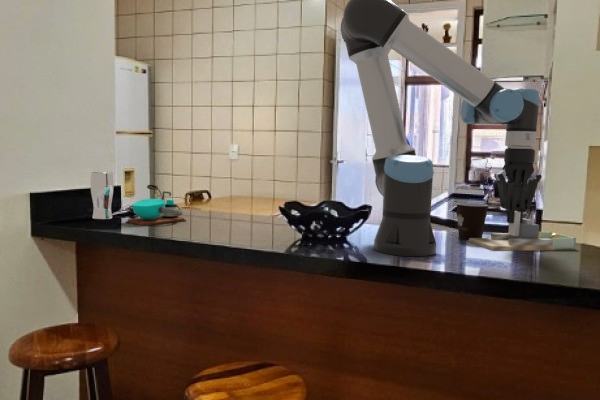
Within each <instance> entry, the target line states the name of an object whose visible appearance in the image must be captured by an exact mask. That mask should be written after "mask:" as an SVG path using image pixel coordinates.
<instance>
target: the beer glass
mask: <svg viewBox="0 0 600 400" xmlns="http://www.w3.org/2000/svg"><path fill="white" fill-rule="evenodd" d="M114 188H115V187H114V172H112V171H94V172H93V171H91V172H90V195H91V199H92V204H93V205H92V206H93V211H92V212H93V213H92V219H94V220H110V219H112V218H113V213H112V202H113V195H114Z"/></svg>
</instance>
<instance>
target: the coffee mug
mask: <svg viewBox="0 0 600 400" xmlns="http://www.w3.org/2000/svg"><path fill="white" fill-rule="evenodd" d="M488 208H489V205H488V204H485V203H474V202H457V203H456V217H457V230H458V231H457V233H458V239H460V240H462V241H463V240H464V241H469V238H483V234H484V231H485V230H484V228H485V225H486V218H487V215H488V214H487V213H488Z"/></svg>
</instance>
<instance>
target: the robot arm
mask: <svg viewBox="0 0 600 400" xmlns="http://www.w3.org/2000/svg"><path fill="white" fill-rule="evenodd" d="M341 18H342V19H341V21H340V22H341V23H340V34H341V36H342V37H341V38H342V39H343V42H344V43H345V46H346V51H347V55H348V59H349V60H350V61H351V62H352V63H354V64H356V70H357V74H358V79H359V83H360V86H361V91H362V92H361V93H362V96H363V100H364V105H365V108H366V114H367V117H368V121H369V126H370V130H371V134H372V138H373V139H372V140H373V143H374V148H375V152H374V154H373V156H372V157H371V159H372V165H373V169H374V173H375V180H374V181H375V182H374V183H375V186H376V189H377V191H378V192H379V193H380V195H381V196H382V197H383V198H382V199H383V200H382V219H381V221H380V223H379V227H378V229H377V232H376V235H375V237H374V239H373V240H374V241H373V242H374V244H373V249H374V250H375V251H377V252H379V253H383V254H385V255H386V254H387V255H392V256H400V257H426V256H432V255H435V254H436V253H437V242H436V241H437V240H436V239H435V234H434V230H433V227H432V223H431V222H432V221H431V213H432V211H431V210H432V197H433V195H432V194H433V177H434V173H435V171H434V163H433V161H432V160H431V159H430V158H428V157H425V156H420V155H417V153H416V150H415V147H413V146H412V145H410V144H409V143H408V139H407V135H406V131H405V125H404V123H403V119H402V113H401V112H402V111H401V110H400V109H401V108H400V103H399V100H398V96H397V91H396V86H395V81H394V77H393V72H392V68H391V64H390V58H389V54H390V52H391V50H393V51H394V52H396V53H397V54H398V55H400V56H402V57H403V58H404V59H405V60H407V61H409V62H410V63H411V64H413V65H414V66H415V67H417V68H418V69H420V70H421V71H422V72H424V73H426V74H427V75H428V76H429V77H431V78H432V79H434V80H435V81H436V82H438V83H439V84H441V85H442V86H444V87H445V88H447V89H448V90H450V91H451V92H452V93H453V94H455V95H457V96H458V97H459V98H461V99H462V102H461V106H460V107H461V108H460V117H461V121H462V122H463V123H464V124H468V125H469V124H471V125H501V126H505V125H506V127H505V128H506V129H505V131H506V132H505V142H504V146H505V147H506V148H505V149H504V154H503V155H504V157H503V161H504V165H503V167H502V170H501V171H499V172H498V173H497V172H495V173H494V175H493V177H494V179H495V180H496V182H497V184H496V185H497V190H498V196H499V197H498V198H499V202H500V203H499V204H500V207H501V209H504V210H506V212H507V215H506V222H507V224H508V232H507V233H508V234H509V235H512V236H519V227H520V223H522V218H524V216H523V214H524V213H525V212H526V211H527V210H530V209H531V207H532V203H533V201H534V196H535V194H536V191H537V188H538V183H540V180H541V179H542V178H543V176H542V174H538V173H537V172H536V171H535V167H534V163H535V157H536V150H535V149H534V147H536V144H537V143H536V141H537V130H538V129H537V127H538V118H539V109H540V92H539V90H537V89H535V88H529V87H527V88H525V87H524V88H522V87H521V88H519V87H518V88H512V89H511V88H504V87H503V86H502V85H501V84H499V83H497V82H496V81H494V80H493V79H492V78H491V77H489V76H488V75H486V74H484V73H483V72H482V71H481V70H479V69H478V68H477V67H475V66H473V64H472V63H469V62H468V61H467V60H465V59H464V58H462V57H461V56H460V55H458V54H457V53H455V52H454V51H453V50H452V49H450V48H448V47H447V46H446V45H444V44H443V43H442V42H440V41H439V40H437V39H436V38H435V37H433V36H431V35H430V33H428V32H427V31H425V30H424V29H423V28H421V26H418V25H417V24H415V23H414V22H413V21H411V20H410V18H409V13H408V12H406V11H405V10H404V9H402V8H401V7H399V6H398V5H397V4H396V3H394V2H393V1H392V0H348V2H347V3H346V5H345V8H344V10H343V16H342V17H341ZM506 179H507V181H506Z"/></svg>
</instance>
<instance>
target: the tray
mask: <svg viewBox="0 0 600 400" xmlns="http://www.w3.org/2000/svg"><path fill="white" fill-rule="evenodd" d="M540 233H541V238H540V239H549V236H550V235H551V234H553V233H555V232H553V231H540ZM556 233H557V232H556ZM557 234H559V235H560V236H561V238H551V239H553V244H552V245H554V246H555V250H576V246H577V237H572V236H569V235H565V234H561V233H557Z"/></svg>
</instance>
